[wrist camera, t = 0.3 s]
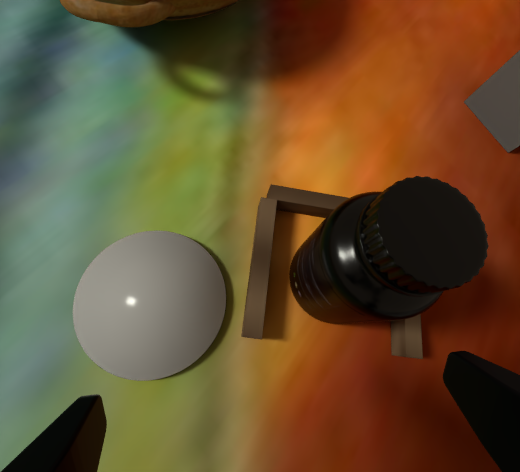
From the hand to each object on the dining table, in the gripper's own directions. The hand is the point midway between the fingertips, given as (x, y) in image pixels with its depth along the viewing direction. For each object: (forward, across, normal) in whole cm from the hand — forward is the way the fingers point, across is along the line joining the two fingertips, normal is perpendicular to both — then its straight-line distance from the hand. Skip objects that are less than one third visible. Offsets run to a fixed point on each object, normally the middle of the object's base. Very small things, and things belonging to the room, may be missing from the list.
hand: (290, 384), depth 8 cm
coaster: (+14, +6, +5) cm, 16 cm away
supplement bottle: (+14, -7, +5) cm, 16 cm away
